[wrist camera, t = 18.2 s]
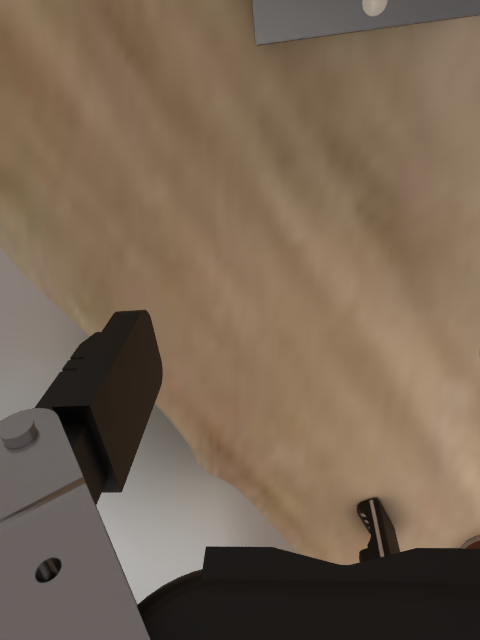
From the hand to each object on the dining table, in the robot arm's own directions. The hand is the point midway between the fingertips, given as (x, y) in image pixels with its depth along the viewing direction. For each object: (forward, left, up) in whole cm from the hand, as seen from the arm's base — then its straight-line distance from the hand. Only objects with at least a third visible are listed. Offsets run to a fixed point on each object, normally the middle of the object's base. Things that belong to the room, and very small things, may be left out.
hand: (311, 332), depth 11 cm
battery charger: (-8, +46, -28) cm, 55 cm away
